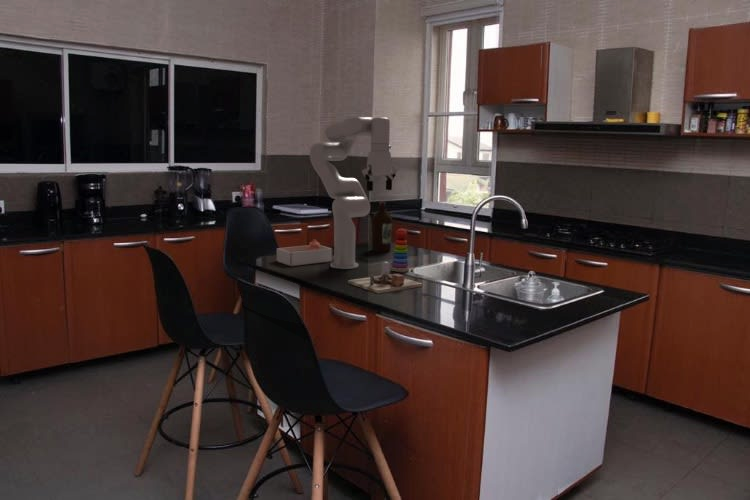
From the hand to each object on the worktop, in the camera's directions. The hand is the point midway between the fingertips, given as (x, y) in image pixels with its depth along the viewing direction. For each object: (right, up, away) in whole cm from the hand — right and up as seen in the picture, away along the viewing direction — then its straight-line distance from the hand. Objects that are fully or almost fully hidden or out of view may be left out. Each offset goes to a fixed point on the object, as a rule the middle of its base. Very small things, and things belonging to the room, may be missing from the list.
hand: (379, 190), depth 272 cm
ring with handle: (+4, -37, -10) cm, 39 cm away
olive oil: (+1, -25, +68) cm, 73 cm away
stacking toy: (+9, -34, +20) cm, 40 cm away
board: (+2, -39, -7) cm, 39 cm away
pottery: (-35, -30, +36) cm, 59 cm away
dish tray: (-35, -30, +37) cm, 59 cm away
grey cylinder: (0, -38, -10) cm, 39 cm away
